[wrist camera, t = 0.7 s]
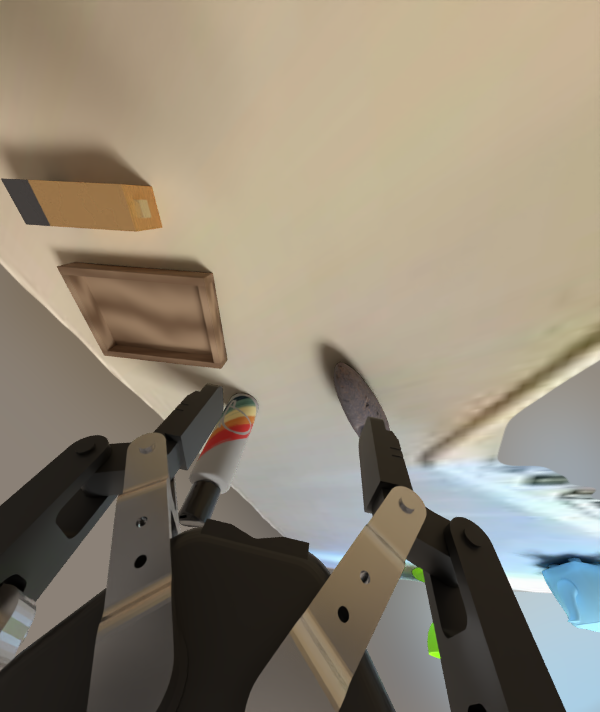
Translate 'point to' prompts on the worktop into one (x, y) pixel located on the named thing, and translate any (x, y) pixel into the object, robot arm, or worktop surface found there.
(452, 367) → the worktop surface
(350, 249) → the worktop surface
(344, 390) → the perforated stone tool
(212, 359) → the brown wooden tray
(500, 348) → the worktop surface
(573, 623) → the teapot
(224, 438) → the lotion bottle
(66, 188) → the battery cell
